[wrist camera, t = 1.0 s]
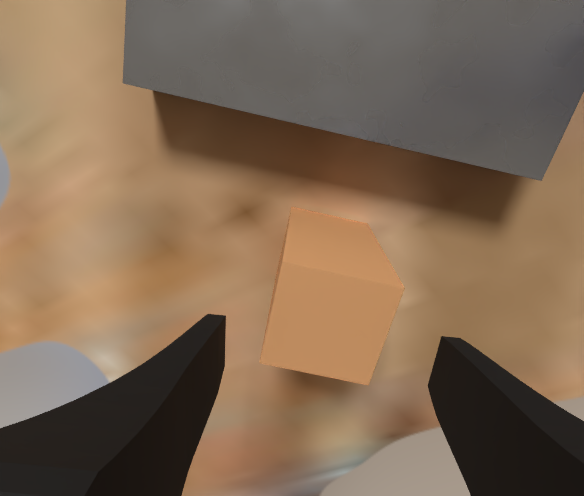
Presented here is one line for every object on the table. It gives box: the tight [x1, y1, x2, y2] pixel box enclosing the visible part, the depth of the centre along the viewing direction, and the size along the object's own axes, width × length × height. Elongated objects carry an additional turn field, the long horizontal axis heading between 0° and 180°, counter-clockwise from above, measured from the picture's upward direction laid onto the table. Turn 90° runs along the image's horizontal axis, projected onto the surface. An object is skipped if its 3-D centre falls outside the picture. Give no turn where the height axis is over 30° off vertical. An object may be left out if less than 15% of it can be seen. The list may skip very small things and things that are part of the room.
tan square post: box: [259, 207, 405, 385], centre depth 17 cm, size 4×4×8 cm
